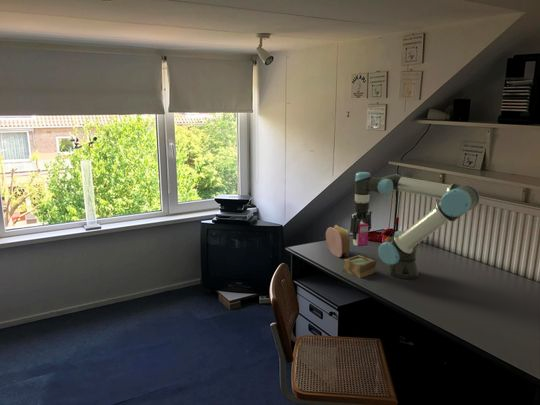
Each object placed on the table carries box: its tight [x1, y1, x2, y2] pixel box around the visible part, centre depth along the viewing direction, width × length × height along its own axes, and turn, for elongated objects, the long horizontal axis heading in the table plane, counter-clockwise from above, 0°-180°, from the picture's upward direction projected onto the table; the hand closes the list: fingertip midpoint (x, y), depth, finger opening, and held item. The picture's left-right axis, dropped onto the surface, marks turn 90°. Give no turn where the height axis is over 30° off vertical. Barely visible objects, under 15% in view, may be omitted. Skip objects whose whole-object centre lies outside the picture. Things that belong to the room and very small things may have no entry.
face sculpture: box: [325, 224, 351, 259], centre depth 266 cm, size 20×7×17 cm, turn 25°
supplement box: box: [357, 221, 369, 247], centre depth 235 cm, size 6×6×12 cm
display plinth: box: [343, 254, 377, 279], centre depth 239 cm, size 12×12×7 cm
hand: (360, 243), depth 236 cm, fingers closed on supplement box, 6 cm apart
